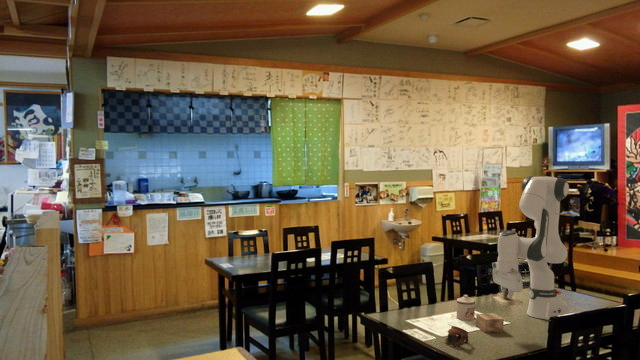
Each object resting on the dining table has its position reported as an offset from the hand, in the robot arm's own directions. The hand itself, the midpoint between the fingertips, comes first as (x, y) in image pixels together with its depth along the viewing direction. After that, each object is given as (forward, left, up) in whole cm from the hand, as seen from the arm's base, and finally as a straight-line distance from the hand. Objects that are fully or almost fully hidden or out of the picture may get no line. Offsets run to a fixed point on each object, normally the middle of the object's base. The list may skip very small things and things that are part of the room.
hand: (507, 297), depth 227 cm
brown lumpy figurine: (+27, +10, -17) cm, 34 cm away
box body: (+4, -8, -17) cm, 19 cm away
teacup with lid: (+7, -26, -17) cm, 32 cm away
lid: (0, 0, -2) cm, 2 cm away
